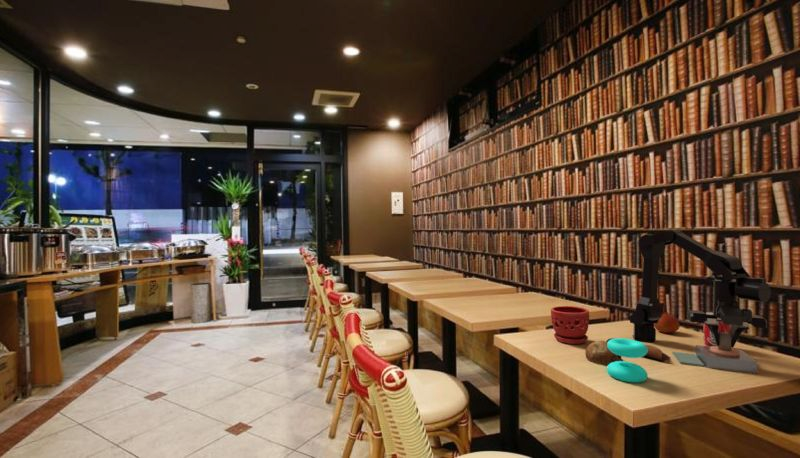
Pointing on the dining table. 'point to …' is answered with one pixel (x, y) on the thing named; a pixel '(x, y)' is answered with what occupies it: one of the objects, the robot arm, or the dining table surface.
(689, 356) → the mat
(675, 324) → the fruit
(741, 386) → the dining table surface
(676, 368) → the dining table surface
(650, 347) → the sunglasses case
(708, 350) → the block
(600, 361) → the bread roll
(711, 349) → the end cover
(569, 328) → the plant pot
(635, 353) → the donuts
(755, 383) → the dining table surface
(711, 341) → the soda can
